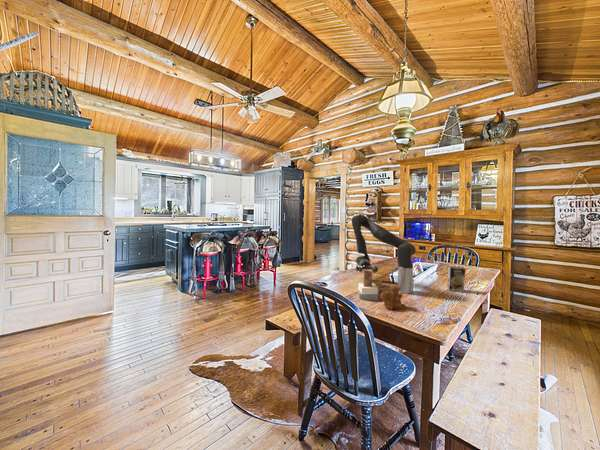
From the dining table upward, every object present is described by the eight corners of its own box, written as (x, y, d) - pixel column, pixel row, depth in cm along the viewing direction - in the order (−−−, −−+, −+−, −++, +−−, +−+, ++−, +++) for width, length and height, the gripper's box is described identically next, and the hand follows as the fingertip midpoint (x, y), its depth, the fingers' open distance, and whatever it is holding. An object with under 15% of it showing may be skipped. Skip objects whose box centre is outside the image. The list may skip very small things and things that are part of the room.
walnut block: (371, 284, 167) (371, 269, 166) (372, 286, 162) (372, 271, 161) (363, 284, 167) (363, 269, 167) (363, 286, 162) (364, 270, 162)
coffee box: (449, 291, 177) (450, 268, 176) (446, 288, 184) (448, 266, 182) (464, 292, 175) (465, 269, 173) (461, 289, 181) (462, 267, 180)
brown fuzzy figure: (407, 307, 148) (408, 285, 147) (391, 313, 141) (392, 289, 140) (392, 302, 157) (393, 281, 156) (377, 306, 149) (377, 284, 148)
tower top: (373, 289, 170) (373, 283, 169) (377, 294, 160) (378, 288, 159) (358, 288, 170) (358, 283, 169) (361, 294, 160) (361, 288, 159)
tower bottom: (375, 295, 170) (375, 289, 169) (377, 301, 159) (377, 295, 158) (358, 294, 171) (358, 288, 171) (359, 300, 160) (359, 294, 160)
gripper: (355, 260, 186) (356, 265, 170) (375, 260, 184) (379, 266, 168) (355, 270, 186) (356, 276, 170) (375, 271, 184) (378, 277, 168)
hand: (367, 271), depth 169 cm, fingers open, 8 cm apart
